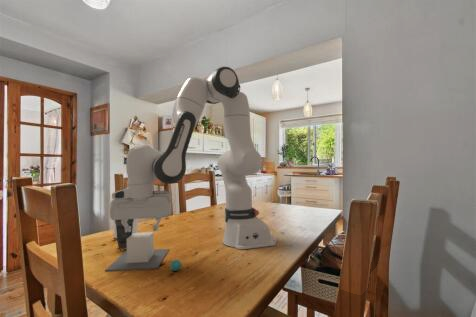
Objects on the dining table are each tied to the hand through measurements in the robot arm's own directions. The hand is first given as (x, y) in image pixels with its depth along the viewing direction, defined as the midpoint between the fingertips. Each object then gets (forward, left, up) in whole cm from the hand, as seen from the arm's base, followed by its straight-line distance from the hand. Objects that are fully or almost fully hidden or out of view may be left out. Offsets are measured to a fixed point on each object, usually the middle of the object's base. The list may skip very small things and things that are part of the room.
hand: (142, 231), depth 80 cm
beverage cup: (+12, -14, -10) cm, 21 cm away
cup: (+17, -28, -10) cm, 34 cm away
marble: (-13, +10, -8) cm, 19 cm away
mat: (+1, 0, -10) cm, 10 cm away
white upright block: (0, 0, -9) cm, 9 cm away
